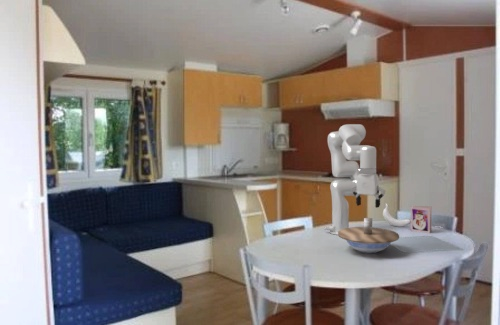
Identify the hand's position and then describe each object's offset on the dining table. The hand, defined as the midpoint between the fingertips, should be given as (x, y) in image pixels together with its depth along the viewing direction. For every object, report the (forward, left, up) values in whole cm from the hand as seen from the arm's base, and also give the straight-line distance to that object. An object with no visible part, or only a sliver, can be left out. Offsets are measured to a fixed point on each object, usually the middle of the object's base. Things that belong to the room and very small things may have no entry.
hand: (368, 206), depth 212 cm
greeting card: (+47, +38, -23) cm, 64 cm away
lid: (0, 0, -15) cm, 15 cm away
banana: (+39, +55, -23) cm, 71 cm away
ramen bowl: (0, 0, -23) cm, 23 cm away
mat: (+31, +10, -23) cm, 40 cm away
